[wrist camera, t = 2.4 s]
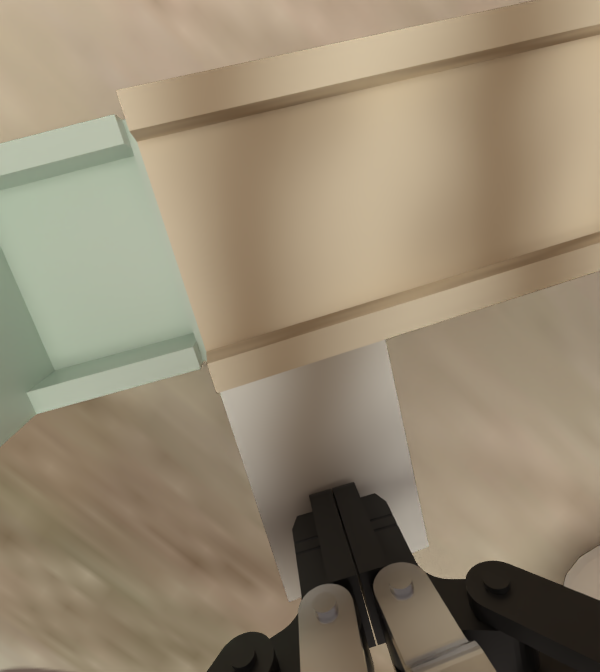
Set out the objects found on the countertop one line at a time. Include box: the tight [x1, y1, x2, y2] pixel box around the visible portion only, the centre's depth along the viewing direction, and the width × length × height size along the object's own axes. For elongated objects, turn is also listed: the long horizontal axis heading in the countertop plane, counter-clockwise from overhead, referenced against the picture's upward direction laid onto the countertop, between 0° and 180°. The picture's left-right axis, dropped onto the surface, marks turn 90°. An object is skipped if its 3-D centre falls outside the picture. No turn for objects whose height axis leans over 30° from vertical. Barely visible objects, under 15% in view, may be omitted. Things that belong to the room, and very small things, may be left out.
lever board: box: [116, 0, 600, 602], centre depth 14 cm, size 20×15×5 cm
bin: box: [0, 114, 207, 447], centre depth 17 cm, size 9×10×7 cm
